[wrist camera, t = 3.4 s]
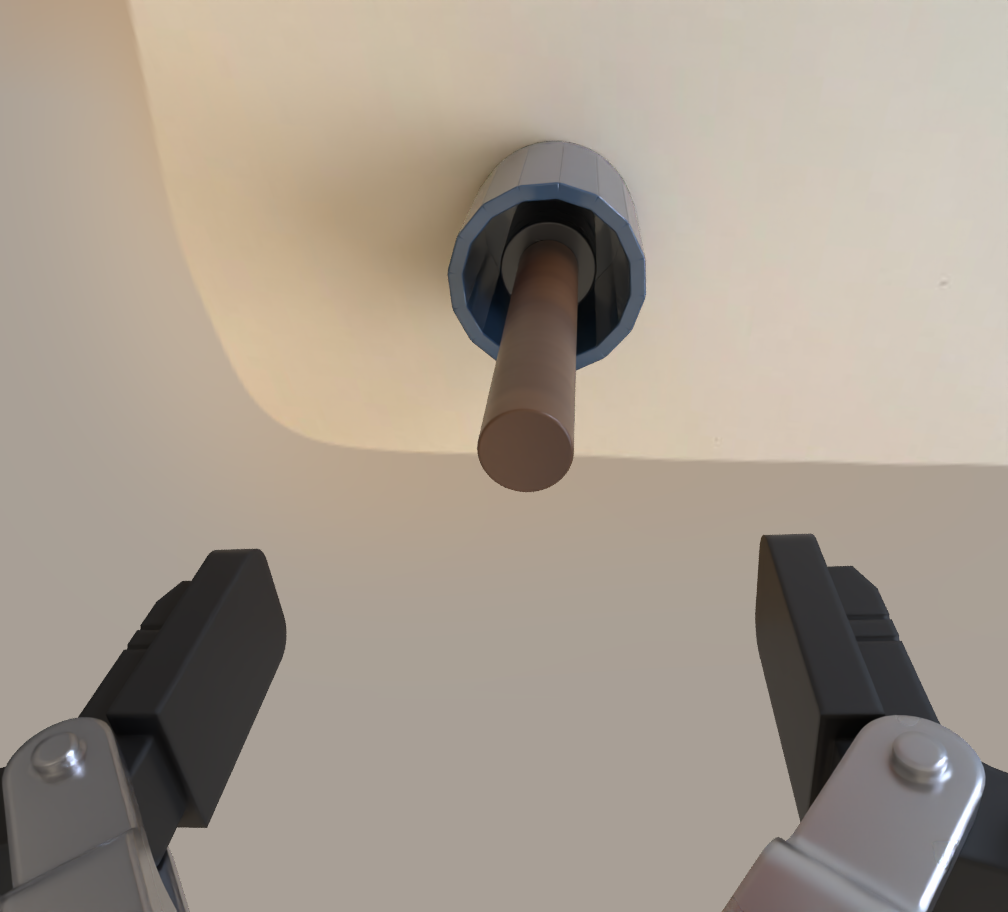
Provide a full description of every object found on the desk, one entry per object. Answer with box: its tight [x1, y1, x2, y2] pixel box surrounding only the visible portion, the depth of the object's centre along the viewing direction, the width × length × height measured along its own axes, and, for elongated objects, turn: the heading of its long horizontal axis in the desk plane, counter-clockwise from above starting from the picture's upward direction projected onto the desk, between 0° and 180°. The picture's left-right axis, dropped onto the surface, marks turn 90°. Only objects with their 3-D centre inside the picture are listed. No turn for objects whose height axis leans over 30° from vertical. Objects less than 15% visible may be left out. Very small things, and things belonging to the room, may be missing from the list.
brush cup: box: [448, 141, 646, 370], centre depth 29 cm, size 6×6×7 cm
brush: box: [477, 199, 597, 492], centre depth 24 cm, size 3×3×17 cm
